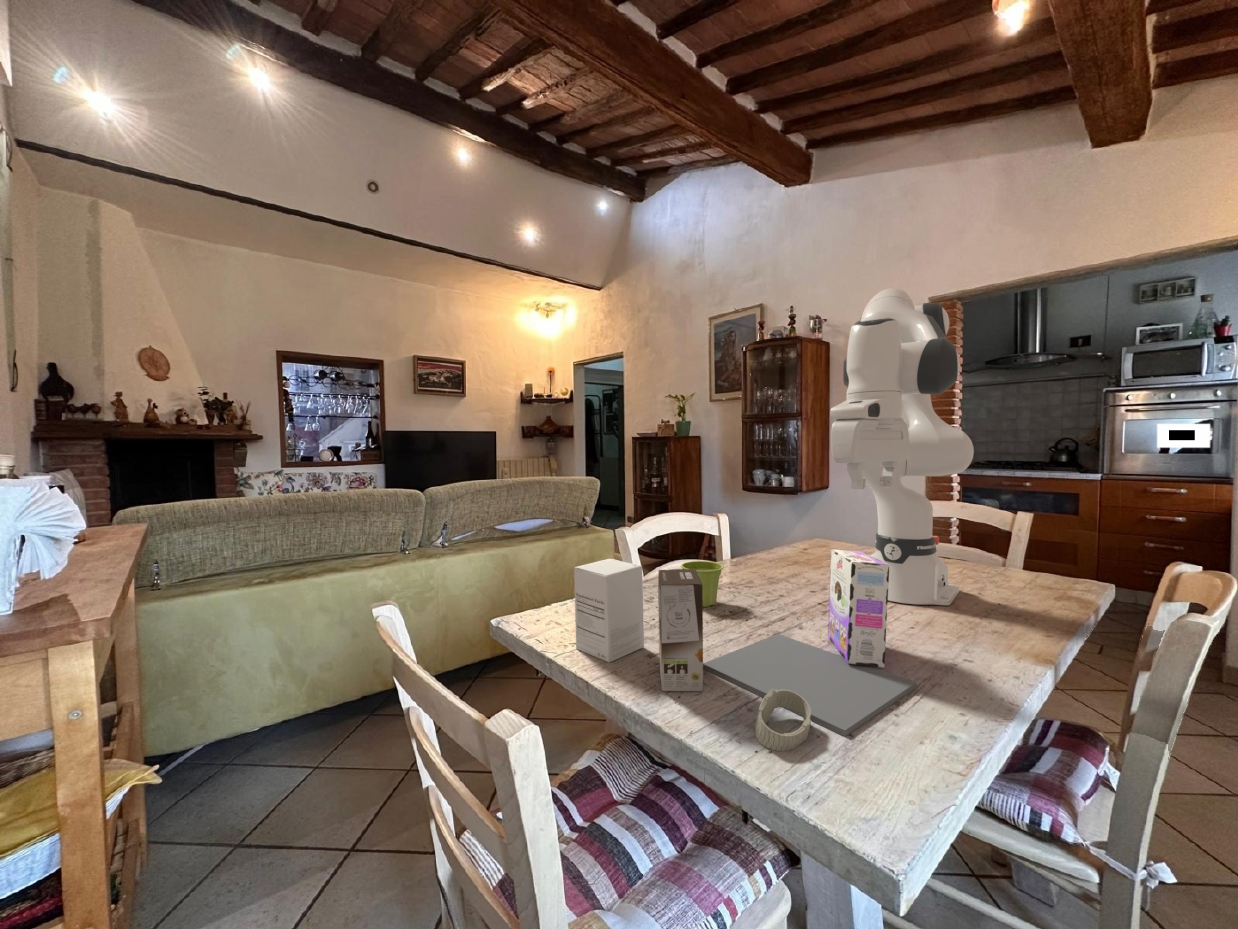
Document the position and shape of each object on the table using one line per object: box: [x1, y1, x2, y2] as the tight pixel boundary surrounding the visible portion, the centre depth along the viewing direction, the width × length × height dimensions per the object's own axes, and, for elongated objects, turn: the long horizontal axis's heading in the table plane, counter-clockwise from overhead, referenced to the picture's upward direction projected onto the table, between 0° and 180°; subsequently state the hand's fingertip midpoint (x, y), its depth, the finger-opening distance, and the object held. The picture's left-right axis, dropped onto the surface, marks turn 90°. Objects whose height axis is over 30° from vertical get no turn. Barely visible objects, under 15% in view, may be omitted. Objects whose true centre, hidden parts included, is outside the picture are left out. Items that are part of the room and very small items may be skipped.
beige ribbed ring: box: [754, 689, 812, 752], centre depth 63 cm, size 9×6×5 cm
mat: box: [703, 633, 918, 738], centre depth 78 cm, size 20×24×1 cm
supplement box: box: [573, 558, 645, 663], centre depth 90 cm, size 9×9×15 cm
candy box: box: [827, 548, 889, 669], centre depth 86 cm, size 14×6×16 cm, turn 170°
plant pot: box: [680, 560, 724, 608], centre depth 114 cm, size 9×9×9 cm
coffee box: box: [657, 568, 704, 692], centre depth 78 cm, size 9×6×16 cm
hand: (872, 487), depth 90 cm, fingers open, 8 cm apart
